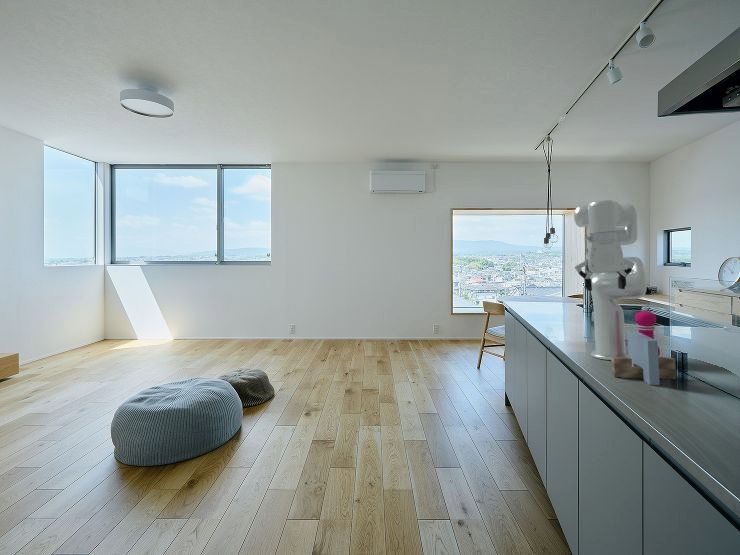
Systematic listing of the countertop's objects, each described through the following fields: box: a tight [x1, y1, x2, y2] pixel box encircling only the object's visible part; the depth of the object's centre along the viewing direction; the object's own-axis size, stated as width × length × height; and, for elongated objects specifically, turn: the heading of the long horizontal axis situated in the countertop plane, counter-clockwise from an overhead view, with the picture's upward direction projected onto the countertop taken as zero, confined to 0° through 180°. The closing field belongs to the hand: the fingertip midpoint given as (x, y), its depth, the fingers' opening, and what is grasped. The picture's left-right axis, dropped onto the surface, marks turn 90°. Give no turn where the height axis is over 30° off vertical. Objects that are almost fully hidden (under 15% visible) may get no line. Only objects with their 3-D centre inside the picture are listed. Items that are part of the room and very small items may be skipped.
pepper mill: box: [634, 306, 661, 357], centre depth 126 cm, size 7×7×20 cm
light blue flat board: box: [626, 330, 661, 386], centre depth 113 cm, size 16×2×13 cm, turn 162°
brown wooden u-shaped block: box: [610, 356, 677, 380], centre depth 113 cm, size 16×2×6 cm, turn 73°
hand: (605, 289), depth 121 cm, fingers open, 9 cm apart
